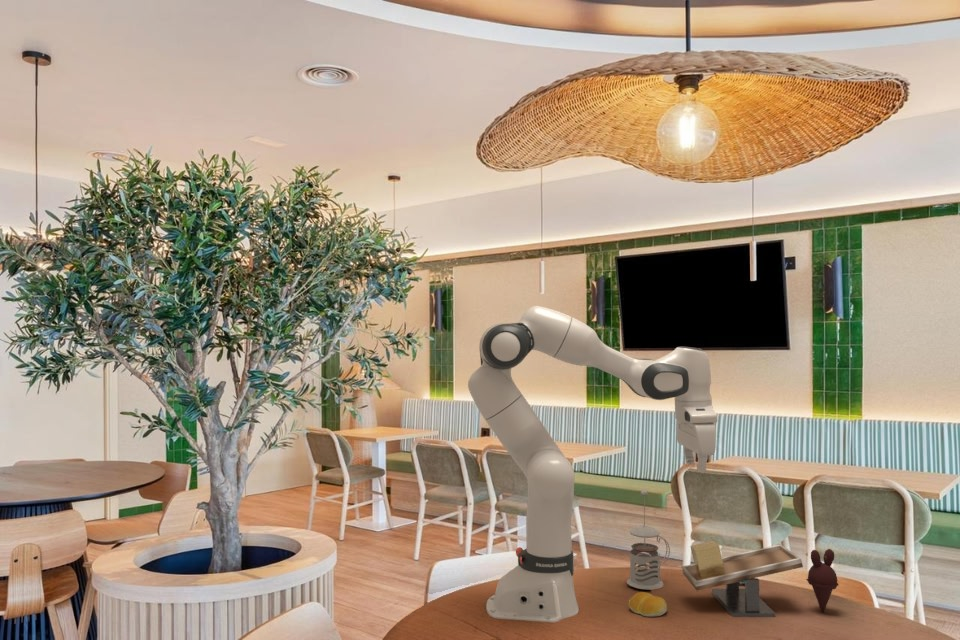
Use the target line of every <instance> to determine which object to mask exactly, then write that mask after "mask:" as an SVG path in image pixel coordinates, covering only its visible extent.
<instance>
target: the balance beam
mask: <svg viewBox="0 0 960 640" xmlns="http://www.w3.org/2000/svg"><path fill="white" fill-rule="evenodd" d="M722 561H723V565H724V569H725V573H726V574H721V575H717V576H712V577H708V578H704V579H701V578H700V576H699V575H698V574H697V572H696V568H695V564H694V563H692V564H688V565H682V566H681V569H682V574H683V576H684V577H685V578H686V579H687V580H688V582H689V583H690V584H691V586H693V588H694V589H695V590H696V591H697V592H699V591H703V590H707V589H713V588H715V587H716V588H717V587H721V586H726V584H730V583H734V582H739V581H743V580H745V578H761V577H765V576H770V575H773V574H778V573H783V572H787V571H792V570H797V569H800V568H804V565H803V561H802V558H800V557H799V556H798V555H796V554H795V553H793V552H792V551H791V550H790V549H788V548H787V547H785V546H784V545H782V543H781V544H777V545H776V544H775V545H772V546H767V547H763V548H759V549H753V550H750V551H745V552H741V553H736V554H731V555H727V556H723V557H722ZM739 583H740V582H739Z"/></svg>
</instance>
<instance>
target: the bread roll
mask: <svg viewBox="0 0 960 640" xmlns="http://www.w3.org/2000/svg"><path fill="white" fill-rule="evenodd" d="M628 607H629V609H630V610H631V611H632V612H633V613H635V614H637V615H640V616H643V617H647V618H648V617H649V618H652V617H653V618H654V617H660V616H662V615H664V614H665V613H667V611H668V605H667V602H666V600H665V599H664V598H662V597H660V596H656V595H655V596H654V595H652V593H651V594H650V593H649V592H646V591H645V592H644V591H640V592H637V593H635V594H634V595H633V596H632V597H631V598H630V599H629V600H628Z"/></svg>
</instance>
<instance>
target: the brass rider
mask: <svg viewBox="0 0 960 640" xmlns="http://www.w3.org/2000/svg"><path fill="white" fill-rule="evenodd" d="M690 550H691V554H692V559H693V562H694V563H693V564H695V568H696V572H697V574H698V575H699V576H700V578H701V579H704V578H708V577H712V576H717V575H721V574H726V573H725V569H724V565H723V561H722V553H721V548H720V545H719V544H718V542H716V541H715V540H710V541H707V542H703V543H702V542H701V543H697V544H693V545H690Z"/></svg>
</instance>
